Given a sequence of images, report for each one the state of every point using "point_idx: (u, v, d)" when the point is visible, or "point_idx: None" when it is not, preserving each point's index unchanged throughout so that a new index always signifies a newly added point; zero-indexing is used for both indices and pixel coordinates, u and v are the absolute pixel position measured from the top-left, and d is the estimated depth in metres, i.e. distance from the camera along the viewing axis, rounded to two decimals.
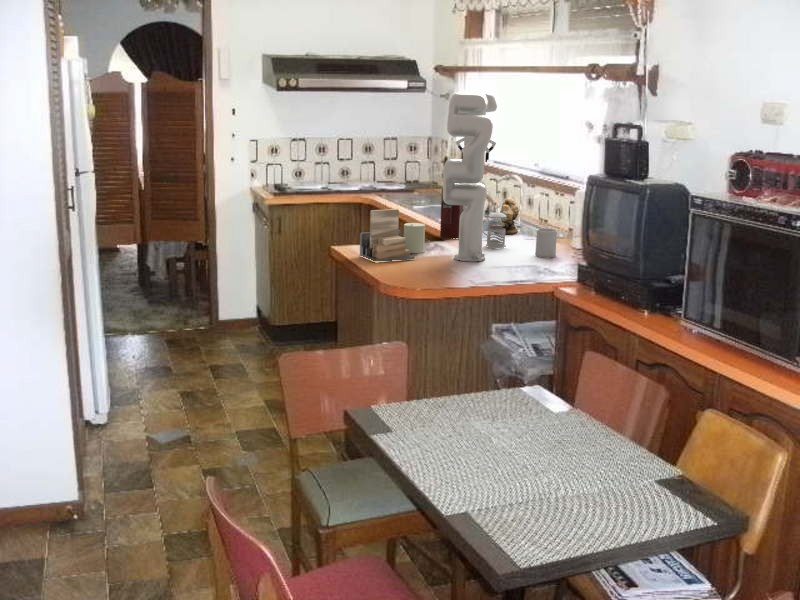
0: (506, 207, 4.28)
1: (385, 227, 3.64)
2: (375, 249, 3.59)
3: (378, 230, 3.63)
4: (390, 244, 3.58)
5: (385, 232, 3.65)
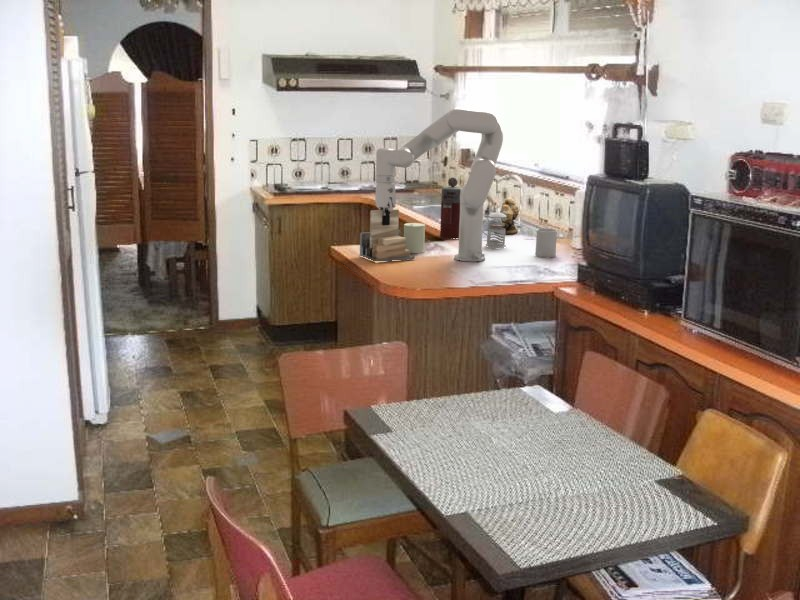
0: (506, 207, 4.28)
1: (385, 227, 3.64)
2: (375, 249, 3.59)
3: (378, 230, 3.63)
4: (390, 244, 3.58)
5: (385, 232, 3.65)
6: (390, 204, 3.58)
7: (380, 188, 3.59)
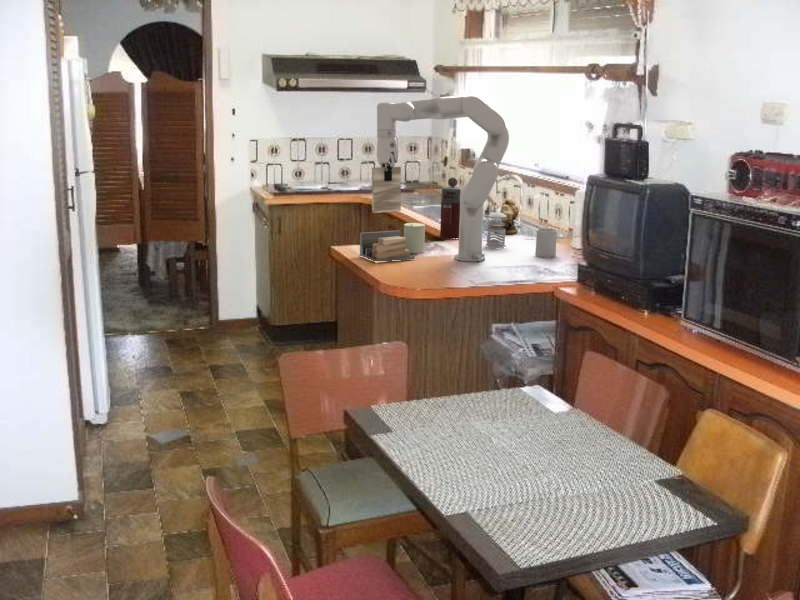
0: (506, 207, 4.28)
1: (387, 184, 3.60)
2: (375, 249, 3.59)
3: (380, 187, 3.59)
4: (390, 244, 3.58)
5: (387, 190, 3.60)
6: (392, 159, 3.54)
7: (381, 143, 3.55)
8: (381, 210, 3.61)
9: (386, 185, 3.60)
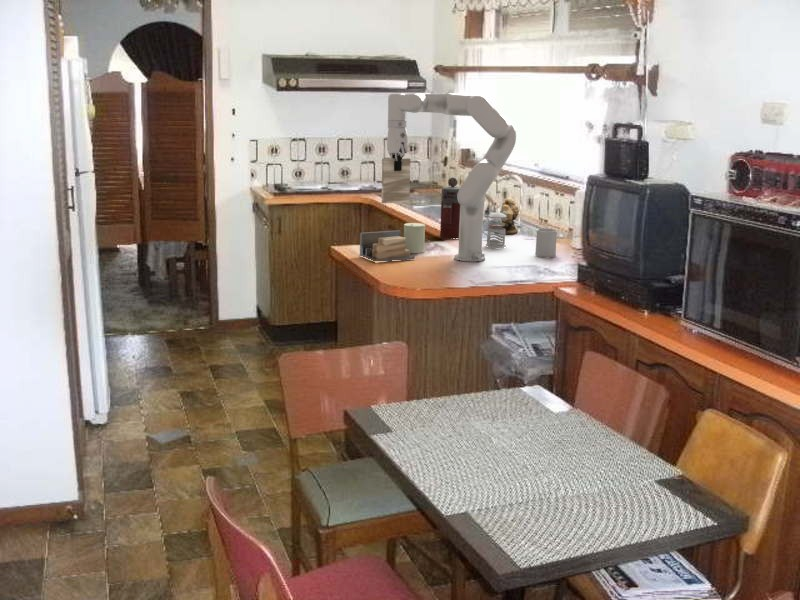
0: (506, 207, 4.28)
1: (397, 175, 3.66)
2: (375, 249, 3.59)
3: (390, 178, 3.65)
4: (390, 244, 3.58)
5: (396, 181, 3.66)
6: (402, 149, 3.60)
7: (392, 134, 3.61)
8: (390, 200, 3.67)
9: (396, 176, 3.66)
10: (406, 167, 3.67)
